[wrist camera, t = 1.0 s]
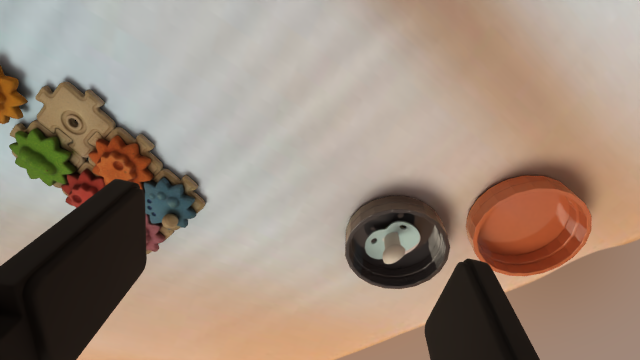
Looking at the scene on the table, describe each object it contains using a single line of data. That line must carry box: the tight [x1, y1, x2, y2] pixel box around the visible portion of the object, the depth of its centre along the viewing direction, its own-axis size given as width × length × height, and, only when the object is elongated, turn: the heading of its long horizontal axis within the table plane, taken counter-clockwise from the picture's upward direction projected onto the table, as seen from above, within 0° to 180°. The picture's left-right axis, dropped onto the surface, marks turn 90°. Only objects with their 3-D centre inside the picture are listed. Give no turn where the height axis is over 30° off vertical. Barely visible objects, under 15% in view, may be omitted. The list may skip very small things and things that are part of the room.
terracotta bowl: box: [466, 176, 591, 276], centre depth 43 cm, size 13×13×4 cm
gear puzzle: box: [0, 65, 205, 254], centre depth 43 cm, size 31×16×4 cm, turn 41°
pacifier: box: [365, 221, 421, 264], centre depth 44 cm, size 7×6×6 cm
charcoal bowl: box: [345, 196, 450, 289], centre depth 46 cm, size 13×13×4 cm
